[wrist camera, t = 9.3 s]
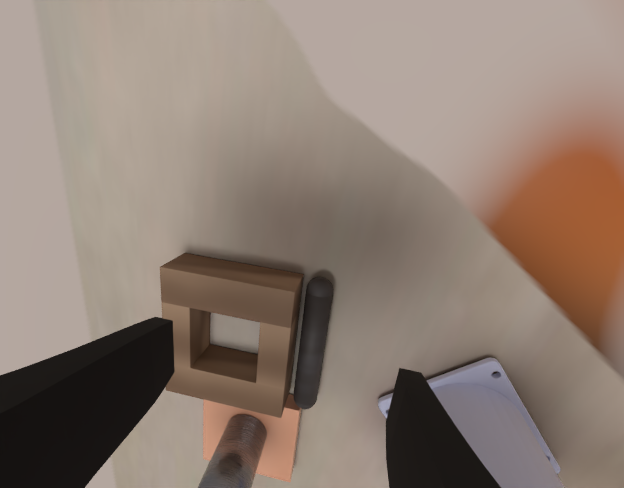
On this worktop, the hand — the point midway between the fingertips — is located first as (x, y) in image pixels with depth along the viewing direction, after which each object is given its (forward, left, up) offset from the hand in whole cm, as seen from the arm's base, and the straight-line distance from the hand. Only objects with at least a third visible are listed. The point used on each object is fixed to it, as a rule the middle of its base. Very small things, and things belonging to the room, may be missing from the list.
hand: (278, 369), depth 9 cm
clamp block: (-1, +7, -9) cm, 12 cm away
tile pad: (-8, +12, -9) cm, 17 cm away
